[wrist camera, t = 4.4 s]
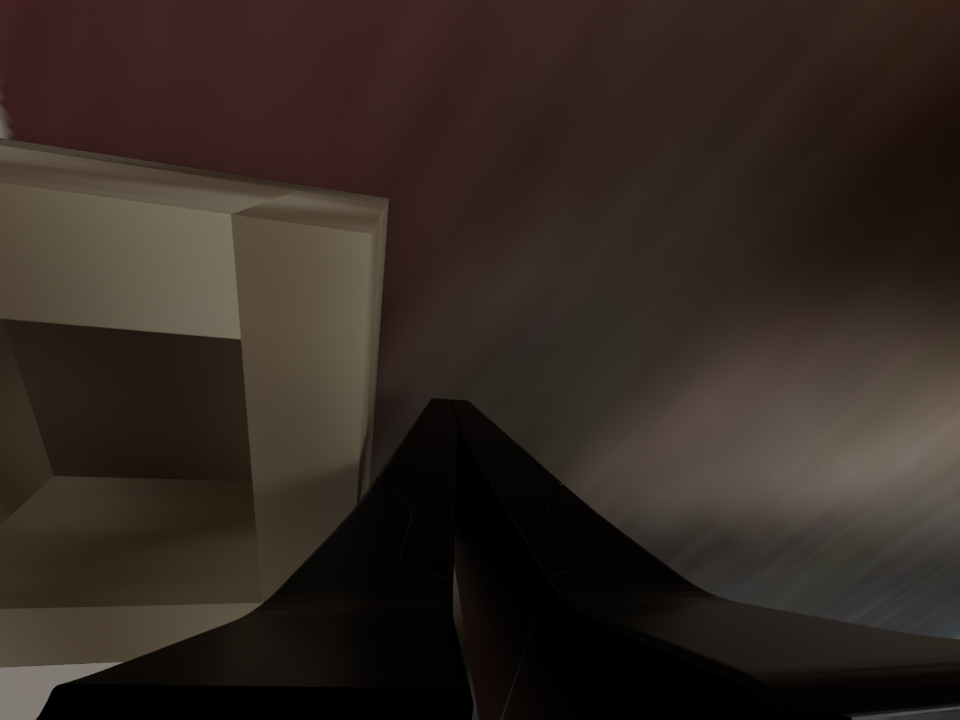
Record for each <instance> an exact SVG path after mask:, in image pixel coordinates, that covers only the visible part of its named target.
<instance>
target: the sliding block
mask: <svg viewBox="0 0 960 720" xmlns="http://www.w3.org/2000/svg"><path fill="white" fill-rule="evenodd" d="M388 203H389V198H383V197H376V196H370V195H364V194H357V193H351V192H344V191H338V190H331V189H325V188H318V187H312V186H306V185H299V184H293V183H286V182H280V181H273V180H267V179H260V178H254V177H248V176H241V175H235V174H228V173H222V172H215V171H209V170H202V169H196V168H190V167H183V166H177V165H170V164H164V163H157V162H151V161H145V160H138V159H132V158H125V157H119V156H112V155H106V154H99V153H93V152H87V151H80V150H74V149H67V148H61V147H54V146H48V145H41V144H35V143H29V142H22V141H16V140H9V139H3V138H0V667H19V666H42V665H64V664H85V663H106V662H126V661H129V660H132V659H134V658H137V657H140V656H142V655H145V654H148V653H150V652H153V651H155V650H158V649H161V648H163V647H166V646H169V645H171V644H174V643H177V642H179V641H182V640H185V639H187V638H190V637H192V636H195V635H198V634H200V633H203V632H206V631H208V630H211V629H214V628H216V627H219V626H222V625H224V624H227V623H229V622H232V621H235V620H237V619H239V618H241V617H243V616H245V615H247V614H248V613H250V612H251V611H253V610H254V609H256V608H257V607H258V606H260V605H261V604H262V603H263V602H265V601H266V600H267V599H268V598H269V597H270V596H272V595H273V594H274V593H275V592H276V591H277V590H278V589H279V588H280V587H281V586H282V585H283V584H284V583H285V581H286V580H287V579H288V578H289V577H290V576H291V575H292V574H293V573H294V572H295V571H296V570H297V569H298V568H299V567H300V566H301V565H302V564H303V563H304V562H305V561H306V559H307V558H308V557H309V556H310V555H311V554H312V553H313V552H314V551H315V550H316V549H317V548H318V547H319V546H320V545H321V544H322V543H323V542H324V541H325V540H326V538H327V537H328V536H329V535H330V534H331V533H332V532H333V531H334V530H335V529H336V528H337V527H338V526H339V524H340V523H341V522H342V521H343V520H344V519H345V518H346V517H347V516H348V514H349V513H350V512H351V511H352V510H353V508H354V507H355V506H356V504H357V503H358V502H359V501H360V499H361V498H362V497H363V495H364V494H365V493H366V491H367V490H368V488H369V485H370V470H371V455H372V440H373V425H374V411H375V396H376V381H377V366H378V351H379V337H380V322H381V307H382V292H383V277H384V263H385V248H386V233H387V218H388Z"/></svg>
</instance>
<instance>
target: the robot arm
mask: <svg viewBox="0 0 960 720" xmlns="http://www.w3.org/2000/svg"><path fill="white" fill-rule="evenodd" d="M454 565H455V572H456V578H457V585H458V591H459V597H460V604H461V610H462V616H463V623H464V629H465V636H466V642H467V648H468V655H469V661H470V667H471V674H472V680H473V686H474V693H475V699H476V706H477V712H478V718H479V720H960V639H951V638H941V637H932V636H925V635H917V634H910V633H904V632H898V631H892V630H886V629H880V628H875V627H869V626H864V625H859V624H853V623H848V622H842V621H837V620H831V619H826V618H821V617H815V616H810V615H804V614H799V613H793V612H788V611H782V610H777V609H772V608H766V607H761V606H755V605H750V604H744V603H739V602H735V601H731V600H728V599H725V598H722V597H719V596H716V595H714V594H712V593H710V592H707V591H705V590H703V589H702V588H700V587H698V586H696V585H694V584H693V583H691V582H690V581H688V580H687V579H685V578H684V577H683V576H681V575H680V574H678V573H677V572H676V571H674V570H673V569H672V568H670V567H669V566H668V565H666V564H665V563H664V562H662V561H661V560H659V559H658V558H657V557H655V556H654V555H653V554H651V553H650V552H649V551H647V550H646V549H645V548H643V547H642V546H640V545H639V544H638V543H636V542H635V541H634V540H632V539H631V538H630V537H628V536H627V535H626V534H624V533H623V532H621V531H620V530H619V529H618V528H616V527H615V526H614V525H612V524H611V523H610V522H608V521H607V520H606V519H604V518H603V517H602V516H601V515H599V514H598V513H597V512H596V511H594V510H593V509H592V508H591V507H590V506H588V505H587V504H586V503H585V502H584V501H582V500H581V499H580V498H579V497H578V496H576V495H575V494H574V493H573V492H572V491H571V490H570V489H568V488H567V487H566V486H565V485H562V483H561V482H560V481H559V480H558V479H557V478H556V477H555V476H553V475H552V474H551V473H550V472H549V471H548V470H547V469H545V468H544V467H543V466H542V465H541V464H540V463H539V462H538V461H536V460H535V459H534V458H533V457H532V456H531V455H530V454H528V453H527V452H526V451H525V450H524V449H523V448H522V447H520V446H519V445H518V444H517V443H516V442H515V441H514V440H512V439H511V438H510V437H509V436H508V435H507V434H506V433H505V432H503V431H502V430H501V429H500V428H499V427H498V426H497V425H495V424H494V423H493V422H492V421H491V420H490V419H489V418H487V417H486V416H485V415H484V414H483V413H482V412H481V411H479V410H478V409H477V408H476V407H475V406H474V405H473V404H472V403H470V402H469V401H467V400H454V399H453V400H449V399H438V398H432V399H431V400H430V401H429V403H428V404H427V405H426V407H425V408H424V410H423V411H422V413H421V414H420V415H419V417H418V418H417V420H416V421H415V423H414V424H413V426H412V427H411V428H410V430H409V431H408V433H407V434H406V436H405V437H404V438H403V440H402V441H401V443H400V444H399V446H398V447H397V449H396V450H395V451H394V453H393V454H392V456H391V457H390V459H389V460H388V461H387V463H386V464H385V466H384V467H383V469H382V470H381V471H380V473H379V474H378V476H377V477H376V479H375V480H374V481H373V483H372V484H371V485H370V487H369V488H368V490H367V491H366V493H365V494H364V495H363V497H362V498H361V499H360V501H359V502H358V503H357V504H356V506H355V507H354V508H353V510H352V511H351V512H350V513H349V514H348V516H347V517H346V518H345V519H344V520H343V521H342V522H341V523H340V524H339V526H338V527H337V528H336V529H335V530H334V531H333V532H332V533H331V534H330V535H329V536H328V537H327V538H326V540H325V541H324V542H323V543H322V544H321V545H320V546H319V547H318V548H317V549H316V550H315V551H314V552H313V553H312V554H311V555H310V556H309V557H308V558H307V559H306V561H305V562H304V563H303V564H302V565H301V566H300V567H299V568H298V569H297V570H296V571H295V572H294V573H293V574H292V575H291V576H290V577H289V578H288V579H287V580H286V581H285V583H284V584H283V585H282V586H281V587H280V588H279V589H278V590H277V591H276V592H275V593H274V594H273V595H272V596H270V597H269V598H268V599H267V600H266V601H265V602H263V603H262V604H261V605H260V606H258V607H257V608H256V609H254V610H253V611H251V612H250V613H248V614H247V615H245V616H243V617H241V618H239V619H237V620H235V621H232V622H229V623H227V624H224V625H222V626H219V627H216V628H214V629H211V630H208V631H206V632H203V633H200V634H198V635H195V636H192V637H190V638H187V639H185V640H182V641H179V642H177V643H174V644H171V645H169V646H166V647H163V648H161V649H158V650H155V651H153V652H150V653H148V654H145V655H142V656H140V657H137V658H134V659H132V660H129V661H126V662H124V663H121V664H118V665H116V666H113V667H111V668H108V669H105V670H103V671H100V672H97V673H95V674H92V675H89V676H86V677H83V678H80V679H77V680H73V681H70V682H67V683H64V684H60V685H57V686H56V687H55V688H54V689H53V690H52V692H51V694H50V696H49V699H48V701H47V702H46V704H45V706H44V708H43V710H42V711H41V713H40V715H39V716H38V718H37V719H36V720H472V713H473V699H472V694H471V690H470V686H469V682H468V678H467V673H466V669H465V665H464V661H463V657H462V653H461V648H460V644H459V640H458V636H457V632H456V627H455V623H454V618H453V574H454Z"/></svg>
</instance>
